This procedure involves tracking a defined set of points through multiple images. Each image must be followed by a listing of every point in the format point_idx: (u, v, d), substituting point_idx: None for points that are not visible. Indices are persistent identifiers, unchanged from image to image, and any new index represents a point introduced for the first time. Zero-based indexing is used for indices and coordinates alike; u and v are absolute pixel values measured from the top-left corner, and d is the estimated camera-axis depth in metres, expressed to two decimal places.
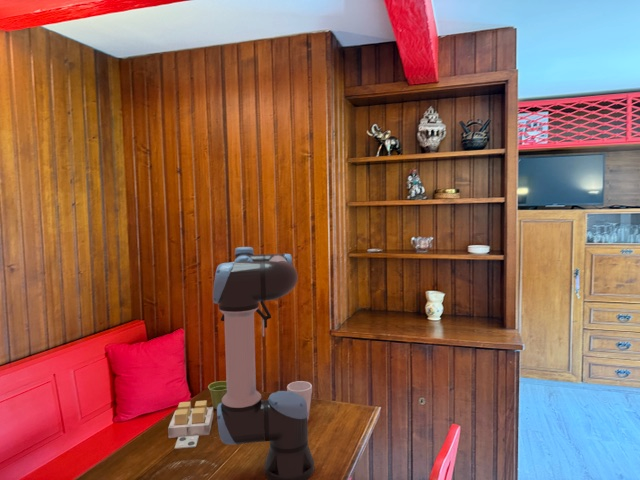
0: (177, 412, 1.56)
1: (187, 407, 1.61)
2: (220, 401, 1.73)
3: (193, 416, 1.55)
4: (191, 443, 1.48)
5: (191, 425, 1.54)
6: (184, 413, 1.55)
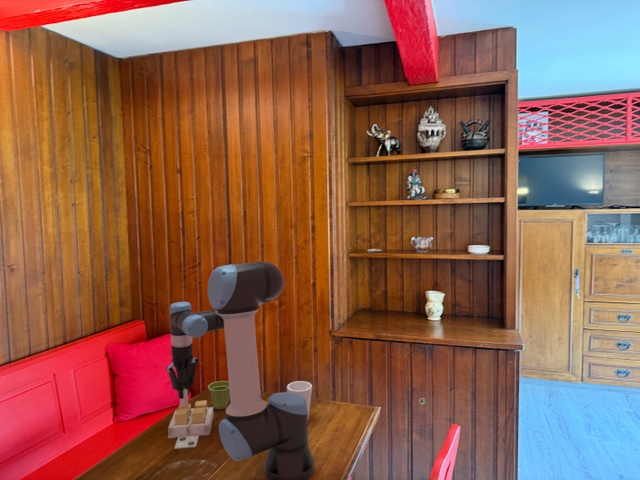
0: (177, 412, 1.56)
1: None
2: (220, 401, 1.73)
3: (193, 416, 1.55)
4: (191, 443, 1.48)
5: (191, 425, 1.54)
6: (184, 413, 1.55)
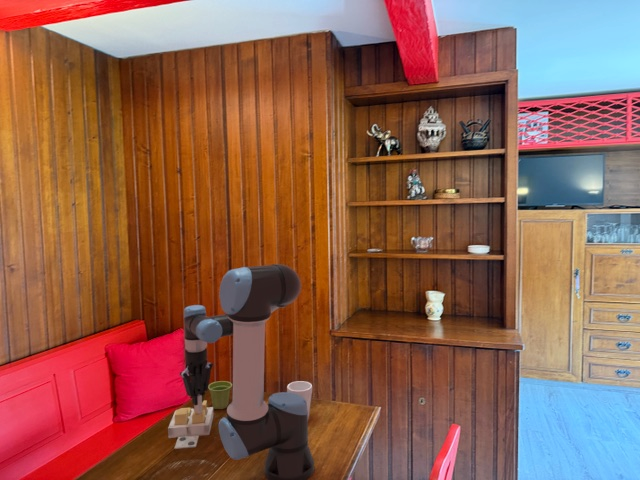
0: (177, 412, 1.56)
1: None
2: (220, 401, 1.73)
3: (193, 418, 1.55)
4: (191, 443, 1.48)
5: (191, 425, 1.54)
6: (184, 413, 1.55)
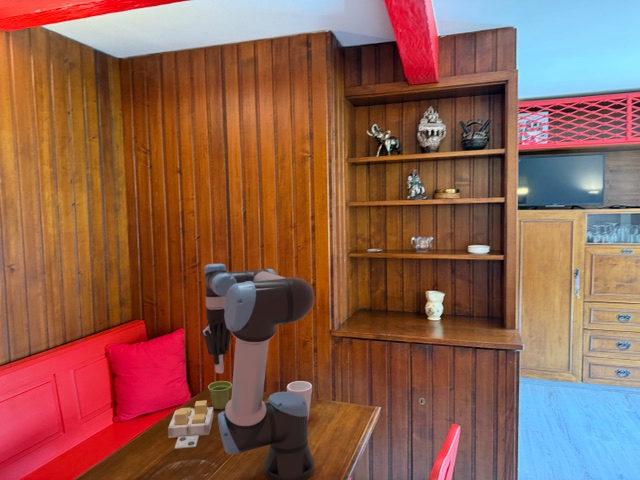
0: (177, 412, 1.56)
1: None
2: (220, 401, 1.73)
3: (193, 422, 1.55)
4: (191, 443, 1.48)
5: (191, 425, 1.54)
6: (184, 413, 1.55)
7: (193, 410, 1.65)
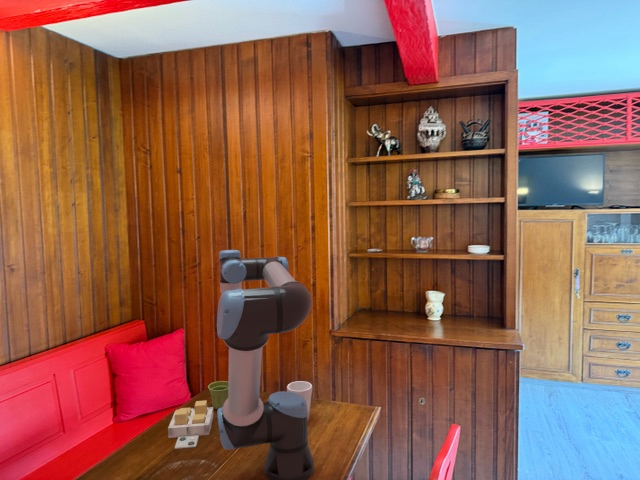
0: (177, 412, 1.56)
1: None
2: (220, 401, 1.73)
3: (193, 422, 1.55)
4: (191, 443, 1.48)
5: (191, 425, 1.54)
6: (184, 413, 1.55)
7: (193, 410, 1.65)
